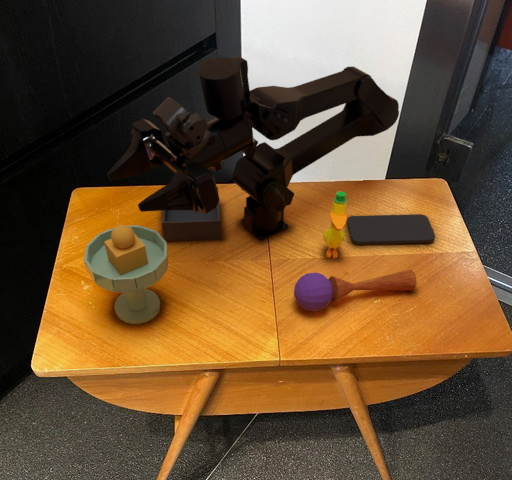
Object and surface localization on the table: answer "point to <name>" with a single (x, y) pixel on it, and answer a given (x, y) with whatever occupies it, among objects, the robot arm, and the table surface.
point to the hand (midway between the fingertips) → (123, 192)
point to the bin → (191, 225)
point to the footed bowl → (130, 275)
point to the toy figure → (336, 224)
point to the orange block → (125, 250)
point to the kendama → (344, 287)
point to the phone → (390, 229)
